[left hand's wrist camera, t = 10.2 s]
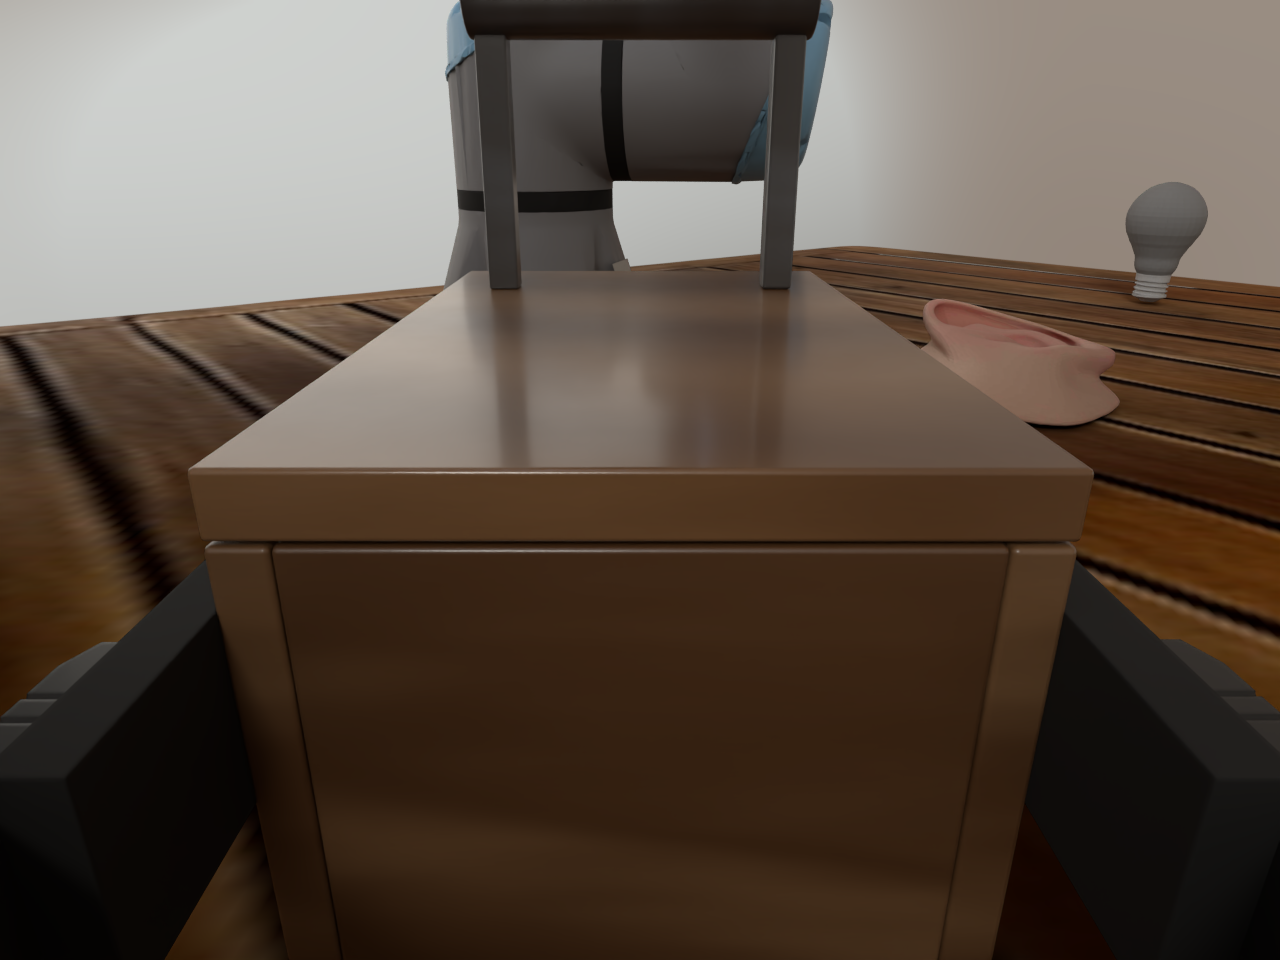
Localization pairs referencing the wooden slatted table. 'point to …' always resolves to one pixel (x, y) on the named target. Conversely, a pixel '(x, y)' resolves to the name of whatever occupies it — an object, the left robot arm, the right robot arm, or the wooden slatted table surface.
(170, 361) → the wooden slatted table surface
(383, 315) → the wooden slatted table surface
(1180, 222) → the light bulb
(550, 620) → the chest
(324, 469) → the lid
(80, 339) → the wooden slatted table surface
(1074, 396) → the anatomical model
